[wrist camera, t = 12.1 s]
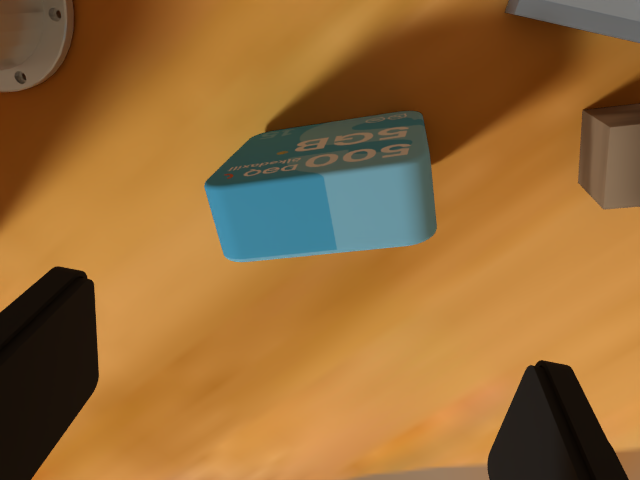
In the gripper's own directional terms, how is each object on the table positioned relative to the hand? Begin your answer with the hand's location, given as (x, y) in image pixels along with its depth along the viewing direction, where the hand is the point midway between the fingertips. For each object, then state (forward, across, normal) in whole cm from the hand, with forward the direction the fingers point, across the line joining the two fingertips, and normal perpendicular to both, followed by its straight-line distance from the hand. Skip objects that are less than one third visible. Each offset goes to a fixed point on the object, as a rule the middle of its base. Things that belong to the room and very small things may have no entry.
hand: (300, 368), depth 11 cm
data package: (+28, +1, +3) cm, 28 cm away
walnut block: (+27, -18, -1) cm, 32 cm away
